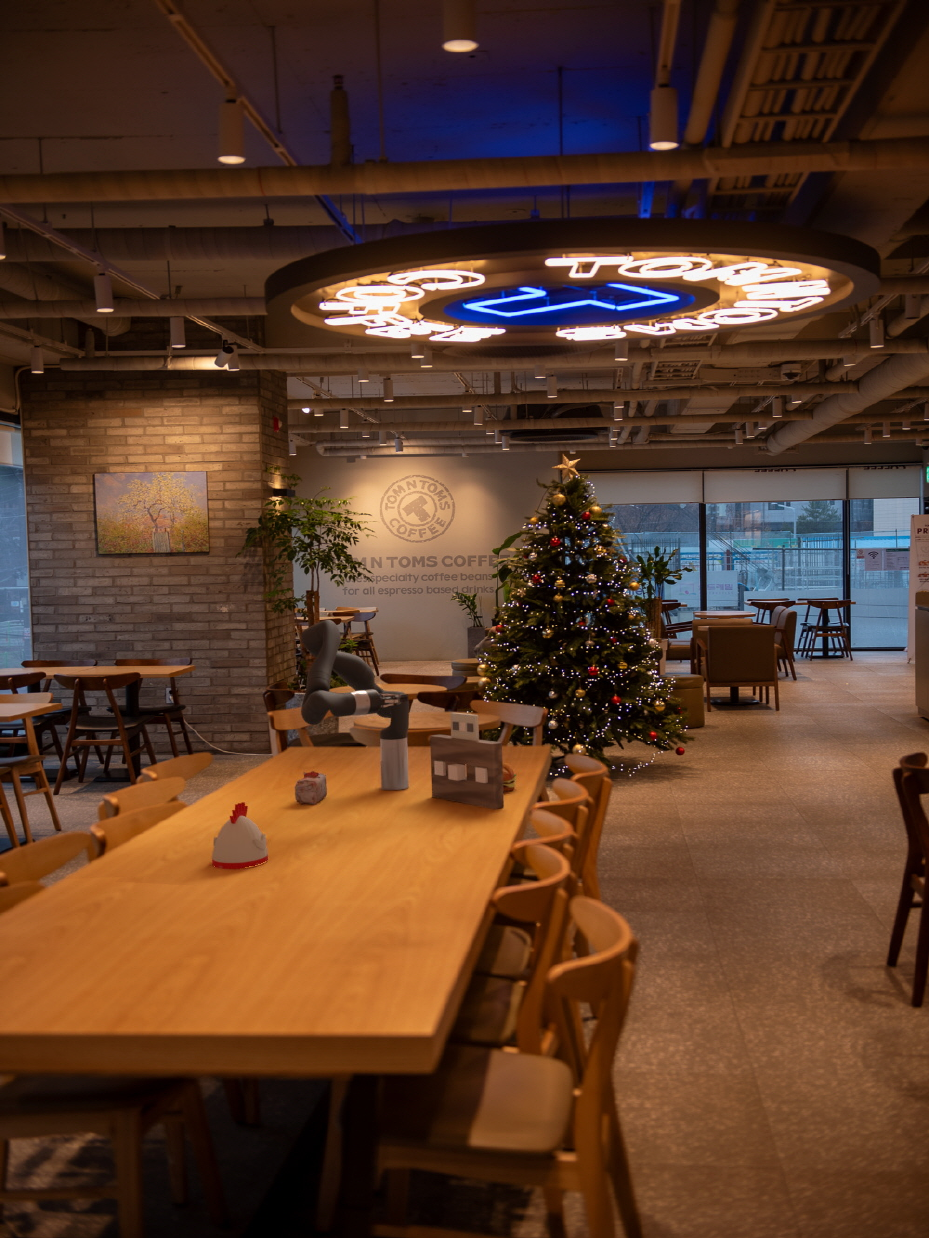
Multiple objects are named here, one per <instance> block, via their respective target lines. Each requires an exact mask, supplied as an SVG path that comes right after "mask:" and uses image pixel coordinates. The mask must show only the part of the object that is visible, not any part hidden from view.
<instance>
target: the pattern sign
mask: <svg viewBox="0 0 929 1238" xmlns="http://www.w3.org/2000/svg"><path fill="white" fill-rule="evenodd" d="M479 723H480V721H479V714H471V713H463V712H462V713H460V712H450V736H451V738H457V739H465V740H473V741H479V740H480V733H479V732H480V728H479V727H480V726H479Z"/></svg>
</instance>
